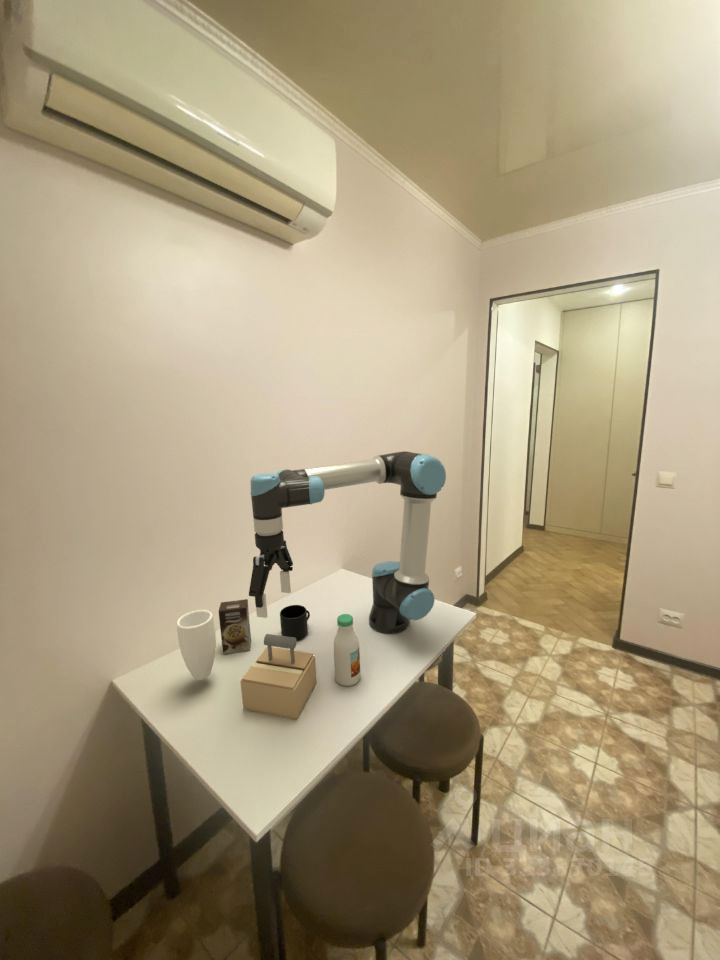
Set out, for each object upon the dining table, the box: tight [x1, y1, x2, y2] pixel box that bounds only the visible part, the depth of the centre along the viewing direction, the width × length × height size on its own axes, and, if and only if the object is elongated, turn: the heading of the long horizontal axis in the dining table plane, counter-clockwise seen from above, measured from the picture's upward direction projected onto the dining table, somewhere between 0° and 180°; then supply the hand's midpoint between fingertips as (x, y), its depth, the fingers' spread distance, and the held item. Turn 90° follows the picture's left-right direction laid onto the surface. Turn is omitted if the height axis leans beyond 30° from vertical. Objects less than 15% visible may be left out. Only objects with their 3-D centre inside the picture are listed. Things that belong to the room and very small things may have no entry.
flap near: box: [255, 633, 314, 670], centre depth 111 cm, size 15×7×8 cm, turn 75°
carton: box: [239, 655, 318, 721], centre depth 109 cm, size 16×14×10 cm
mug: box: [279, 604, 311, 642], centre depth 139 cm, size 9×12×9 cm
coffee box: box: [218, 598, 252, 655], centre depth 131 cm, size 9×6×16 cm
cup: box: [176, 609, 217, 681], centre depth 114 cm, size 10×10×22 cm
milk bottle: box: [333, 613, 361, 687], centre depth 114 cm, size 8×8×20 cm
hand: (274, 603), depth 108 cm, fingers open, 13 cm apart
